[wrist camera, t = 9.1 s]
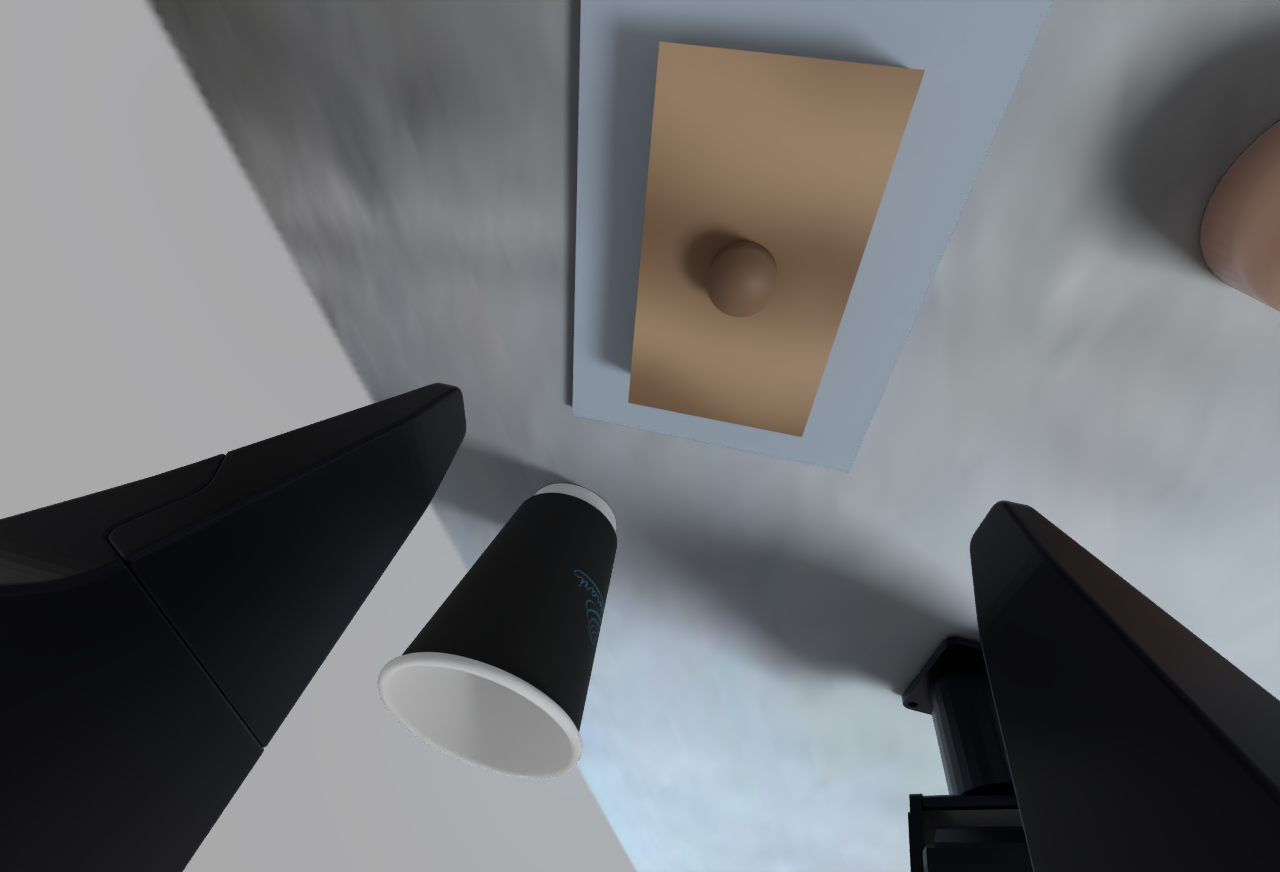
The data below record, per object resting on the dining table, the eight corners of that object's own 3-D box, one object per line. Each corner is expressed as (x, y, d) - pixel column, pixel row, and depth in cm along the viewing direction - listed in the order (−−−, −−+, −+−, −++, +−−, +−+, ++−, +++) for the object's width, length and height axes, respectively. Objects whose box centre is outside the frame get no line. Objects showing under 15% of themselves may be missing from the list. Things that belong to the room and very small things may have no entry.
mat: (847, 465, 22) (848, 472, 22) (575, 408, 24) (572, 414, 24) (1062, -39, 13) (1070, -42, 12) (588, -81, 14) (582, -85, 14)
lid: (800, 407, 21) (802, 453, 18) (640, 377, 22) (621, 416, 19) (909, 68, 14) (934, 71, 12) (673, 42, 15) (651, 40, 13)
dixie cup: (476, 504, 29) (343, 695, 21) (560, 430, 25) (436, 633, 16) (583, 587, 31) (504, 792, 23) (678, 532, 27) (625, 760, 18)
